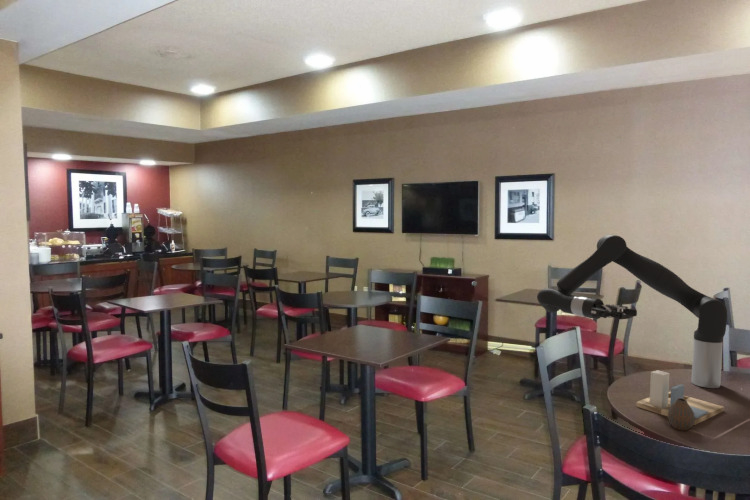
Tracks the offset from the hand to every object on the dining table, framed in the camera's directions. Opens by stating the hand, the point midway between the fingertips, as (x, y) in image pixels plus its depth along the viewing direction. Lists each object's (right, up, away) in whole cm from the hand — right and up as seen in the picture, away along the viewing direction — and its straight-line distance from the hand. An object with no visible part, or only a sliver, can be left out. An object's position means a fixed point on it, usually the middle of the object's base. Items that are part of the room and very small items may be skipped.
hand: (629, 314), depth 176 cm
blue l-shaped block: (+11, -29, -14) cm, 34 cm away
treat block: (+6, -30, -7) cm, 32 cm away
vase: (+5, -32, -21) cm, 38 cm away
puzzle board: (+13, -31, -7) cm, 34 cm away
